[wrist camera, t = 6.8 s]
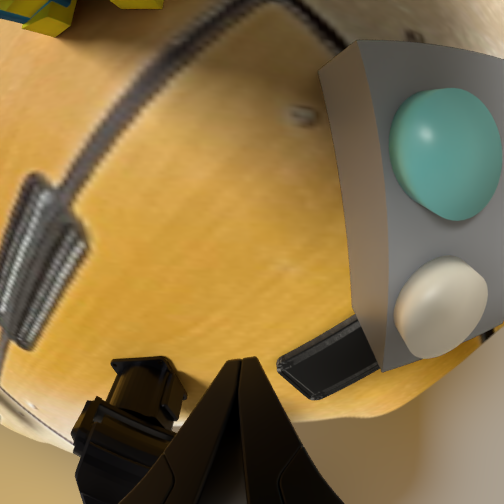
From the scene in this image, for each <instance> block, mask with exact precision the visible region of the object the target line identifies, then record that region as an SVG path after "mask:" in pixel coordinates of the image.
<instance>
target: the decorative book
mask: <svg viewBox="0 0 504 504" xmlns="http://www.w3.org/2000/svg"><path fill="white" fill-rule="evenodd" d="M110 1H111V2H112V3H114V4H115V5H116V6H118V7H119V8H120V9H162V8H163V3H164V0H110ZM76 2H77V0H0V19H5V20H9V21H14V22H18V23H22V24H23V26H22V29H26V30H30V31H33V32H37V33H41V34H44V35H48V36H51V37H54V38H55V37H56V36H57V35H59V34H60V33H61V32H63V31H64V30H66V29H67V28H68V27H70V26H71V22H72V18H73V14H74V10H75V6H76Z"/></svg>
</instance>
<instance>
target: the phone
mask: <svg viewBox="0 0 504 504" xmlns="http://www.w3.org/2000/svg"><path fill="white" fill-rule="evenodd" d="M276 365H277V372H278V373H279V374H280V375H281V376H282V377H283V378H285V379H286V380H287V381H288V382H289V383H290V384H292V385H293V386H294V387H295V388H296V389H297V390H299V391H300V392H301V393H302V394H303V395H304V396H306V397H307V398H308V399H310V400H320V399H323V398H325V397H327V396H329V395H331V394H333V393H335V392H337V391H339V390H341V389H343V388H345V387H347V386H349V385H351V384H353V383H355V382H357V381H358V380H360V379H362V378H364V377H366V376H368V375H369V374H371V373H373V372H375V371H376V370H378V369H380V367H379V365H378V362H377V360H376V358H375V355H374V353H373V351H372V349H371V347H370V344H369V342H368V340H367V338H366V336H365V333H364V331H363V329H362V327H361V325H360V323H359V321H358V318H357V316H356V314H354V315H353V316H351V317H350V318H348V319H346V320H345V321H343V322H341V323H340V324H338V325H336V326H335V327H333V328H331V329H330V330H328V331H326V332H325V333H323V334H321V335H319V336H318V337H316V338H314V339H312V340H311V341H309V342H307V343H305V344H303V345H302V346H300V347H298V348H296V349H294V350H292V351H291V352H289V353H287V354H285V355H283V356H281V357H280V358H279V359H278V360H277V363H276Z"/></svg>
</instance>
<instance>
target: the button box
mask: <svg viewBox="0 0 504 504" xmlns="http://www.w3.org/2000/svg"><path fill="white" fill-rule="evenodd" d="M318 75H319V79H320V83H321V87H322V91H323V95H324V100H325V104H326V109H327V113H328V118H329V123H330V128H331V133H332V138H333V143H334V149H335V155H336V160H337V166H338V173H339V179H340V186H341V193H342V200H343V208H344V216H345V224H346V233H347V243H348V254H349V267H350V281H351V298H352V308H353V310H354V312H355V314H356V316H357V318H358V321H359V323H360V325H361V327H362V329H363V331H364V333H365V336H366V338H367V340H368V342H369V344H370V347H371V349H372V351H373V353H374V355H375V358H376V360H377V362H378V365H379V367H380V369H381V372H385V371H388V370H392V369H395V368H398V367H401V366H404V365H407V364H410V363H412V362H415V361H418V360H421V359H423V358H419V357H416V356H414V355H413V354H412V353H411V352H410V350H409V349H408V347H407V345H406V343H405V342H404V340H403V338H402V337H401V335H400V333H399V331H398V330H397V328H396V326H395V323H394V307H395V303H396V300H397V298H398V295H399V293H400V291H401V290H402V288H403V286H404V285H405V283H406V282H407V281H408V279H409V278H410V277H411V276H412V275H413V274H414V273H415V272H416V271H417V270H418V269H419V268H420V267H422V266H423V265H424V264H426V263H427V262H429V261H431V260H433V259H435V258H438V257H441V256H447V255H451V256H456V257H459V258H460V259H462V260H463V261H464V262H466V263H467V264H468V265H469V266H470V267H472V268H473V269H474V270H475V271H476V272H477V273H479V274H480V275H481V276H482V277H483V278H484V280H485V281H486V284H487V289H488V298H487V303H486V307H485V310H484V313H483V315H482V317H481V319H480V321H479V322H478V324H477V326H476V327H475V328H474V330H473V331H472V332H471V334H470V335H469V336H468V337H467V338H466V339H465V340H464V341H463V342H465V341H467V340H470V339H472V338H474V337H476V336H478V335H480V334H482V333H484V332H486V331H488V330H490V329H492V328H494V327H496V326H498V325H500V324H502V323H503V321H504V59H501V58H497V57H494V56H490V55H486V54H482V53H478V52H473V51H468V50H464V49H458V48H453V47H447V46H440V45H433V44H425V43H416V42H404V41H387V40H356V41H355V42H354V43H352V44H351V45H350V46H348V47H347V48H346V49H344V50H343V51H342V52H341V53H339V54H338V55H337V56H336V57H334V58H333V59H332V60H331V61H329V62H328V63H327V64H326V65H325V66H323V67H322V68H321V69H320V70H318ZM444 88H458V89H462V90H465V91H468V92H469V93H471V94H473V95H474V96H476V97H477V98H478V99H479V100H480V101H481V102H482V103H483V104H484V105H485V106H486V107H487V109H488V110H489V112H490V113H491V115H492V117H493V119H494V121H495V123H496V126H497V128H498V131H499V135H500V139H501V145H502V169H501V175H500V179H499V183H498V185H497V188H496V190H495V193H494V195H493V196H492V198H491V200H490V201H489V203H488V204H487V205H486V206H485V207H484V208H483V209H482V210H481V211H480V212H479V213H478V214H476V215H475V216H473V217H471V218H468V219H465V220H460V221H453V220H448V219H445V218H443V217H441V216H439V215H437V214H436V213H434V212H432V211H431V210H429V209H427V208H426V207H424V206H422V205H420V204H419V203H417V202H415V201H414V200H412V199H411V198H410V197H409V196H408V195H407V194H406V193H405V192H404V191H403V189H402V188H401V186H400V185H399V183H398V181H397V179H396V177H395V175H394V172H393V169H392V166H391V162H390V156H389V134H390V128H391V124H392V121H393V119H394V116H395V114H396V112H397V110H398V108H399V107H400V106H401V104H402V103H403V102H404V101H405V100H406V99H407V98H409V97H410V96H411V95H413V94H415V93H417V92H421V91H425V90H434V89H444ZM463 342H462V343H463Z"/></svg>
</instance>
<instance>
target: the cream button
mask: <svg viewBox="0 0 504 504" xmlns="http://www.w3.org/2000/svg"><path fill="white" fill-rule="evenodd" d="M487 298H488V289H487V284H486V281H485V280H484V278H483V277H482V276H481V275H480V274H479V273H477V272H476V271H475V270H474V269H473V268H472V267H470V266H469V265H468V264H467V263H466V262H464V261H463V260H462V259H460V258H459V257H456V256H451V255H447V256H441V257H438V258H435V259H433V260H431V261H429V262H427V263H426V264H424V265H423V266H422V267H420V268H419V269H418V270H417V271H416V272H415V273H414V274H413V275H412V276H411V277H410V278H409V279H408V281H407V282H406V283H405V285H404V286H403V288H402V290H401V291H400V293H399V295H398V298H397V300H396V303H395V307H394V323H395V326H396V328H397V330H398V331H399V333H400V335H401V337H402V338H403V340H404V342H405V343H406V345H407V347H408V349H409V350H410V352H411V353H412V354H413V355H414V356H416V357H419V358H423V359H428V358H434V357H438V356H441V355H443V354H445V353H447V352H449V351H451V350H452V349H454V348H455V347H457V346H458V345H459V344H461V343H462V342H463V341H464V340H465V339H466V338H467V337H468V336H469V335H470V334H471V332H472V331H473V330H474V328H475V327H476V326H477V324H478V322H479V321H480V319H481V317H482V315H483V313H484V310H485V307H486V303H487Z"/></svg>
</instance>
